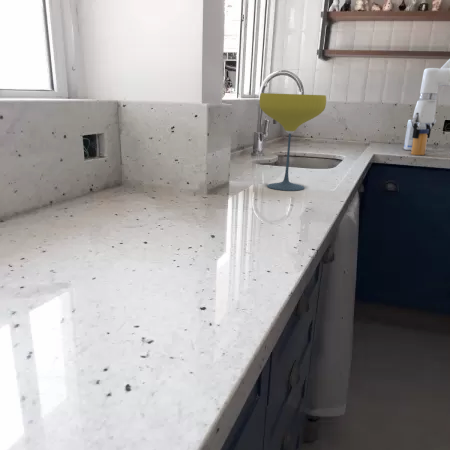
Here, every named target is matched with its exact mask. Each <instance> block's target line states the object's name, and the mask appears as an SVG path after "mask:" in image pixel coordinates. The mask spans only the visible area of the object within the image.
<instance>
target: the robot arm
mask: <svg viewBox="0 0 450 450" xmlns="http://www.w3.org/2000/svg"><path fill="white" fill-rule="evenodd" d="M439 87H450V58H449V59H448V60H447V61H446V62H444V64H443V65H442V66H441V67H440V68H438V67H426V68H425V69H424V70H423V73H422V80H421V85H420V91H419V98H418V100H417V101H416V104H415V107H414V110H413V114H412V115H413V116H412V119H410V120H411V123H412V126H413V129H414V130H413V136H412V138H418V137H419V132H420V130H419V128H420V126H421V124H425V125H426V129H429V133H428V134H427V135H428V137H427V139H430V138H431V137H430V136H431V131H432V130H433V127H434V126H435V124H436V122H437V119H436V113H437V112H436V111H437V97H438V92H439ZM417 124H418V126H417Z"/></svg>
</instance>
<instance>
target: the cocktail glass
mask: <svg viewBox="0 0 450 450" xmlns="http://www.w3.org/2000/svg"><path fill="white" fill-rule="evenodd" d="M258 100H259V101H258V102H259V103H258V104H259V108H260V110H261V111H262V112H263V113H264V114H265V115H267V116H268V117H270V118H271V119H273V120H274V121H276V122H277V123H278V124H280V125H281V126H282V127H283V129H284V131H285V133H287V134H288V139H287V150H286V162H285V173H284V177H283V180H282V181H281V182H273V183H268V184H267V185H266V186H267V188H269V189H272V190H276V191H285V192H286V191H288V192H296V191H304V189H305V186H304V185H301V184H297V183H292V182H290V179H289V167H290V166H289V165H290V153H291V152H290V151H291V138H292V134H294V133H295V132H296V131H297V129H298V128H299V127H300V126H301V125H303V124H305V123H307V122H309V121H311V120H313V119H314V118H316V117H318V116H320V114H322V113H323V112H324V111H325V110H326V106H327V95H326V94H302V93H301V94H300V93H299V94H298V93H274V92H273V93H272V92H271V93H270V92H260V95H259V99H258Z"/></svg>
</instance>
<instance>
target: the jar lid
mask: <svg viewBox="0 0 450 450" xmlns="http://www.w3.org/2000/svg"><path fill="white" fill-rule="evenodd" d="M419 130H420V132H419V134H428V133H429V129H419Z"/></svg>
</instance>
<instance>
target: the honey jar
mask: <svg viewBox="0 0 450 450" xmlns="http://www.w3.org/2000/svg"><path fill="white" fill-rule="evenodd" d="M427 137H428V135H427V134H419V137H418V138H413V142H412V150H410V151H411V152H410V155H413V156H424V155H426V150H427V145H428V144H427V143H428V138H427Z"/></svg>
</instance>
